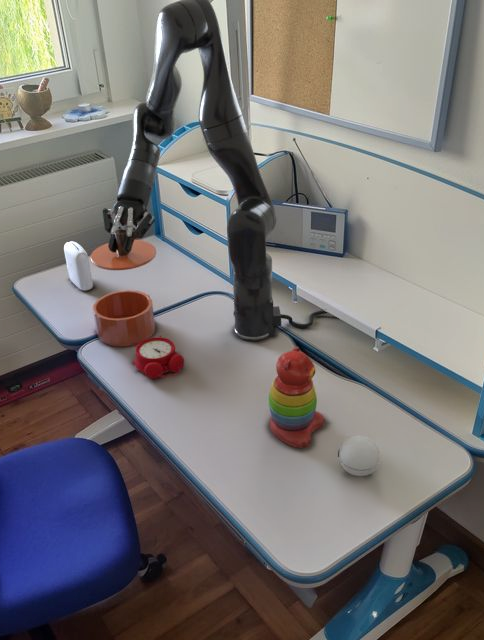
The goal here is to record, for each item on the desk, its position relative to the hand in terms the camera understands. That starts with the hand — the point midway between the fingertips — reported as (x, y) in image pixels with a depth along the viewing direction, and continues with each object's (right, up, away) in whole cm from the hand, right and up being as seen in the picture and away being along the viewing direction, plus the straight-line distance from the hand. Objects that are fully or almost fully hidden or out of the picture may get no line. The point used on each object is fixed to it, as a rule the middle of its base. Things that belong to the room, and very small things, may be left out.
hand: (118, 251), depth 155 cm
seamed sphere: (+48, -46, -34) cm, 74 cm away
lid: (+1, 0, +3) cm, 3 cm away
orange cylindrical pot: (0, -18, +12) cm, 22 cm away
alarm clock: (+10, -27, -2) cm, 29 cm away
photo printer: (-16, -4, +35) cm, 38 cm away
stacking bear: (+38, -39, -22) cm, 59 cm away
